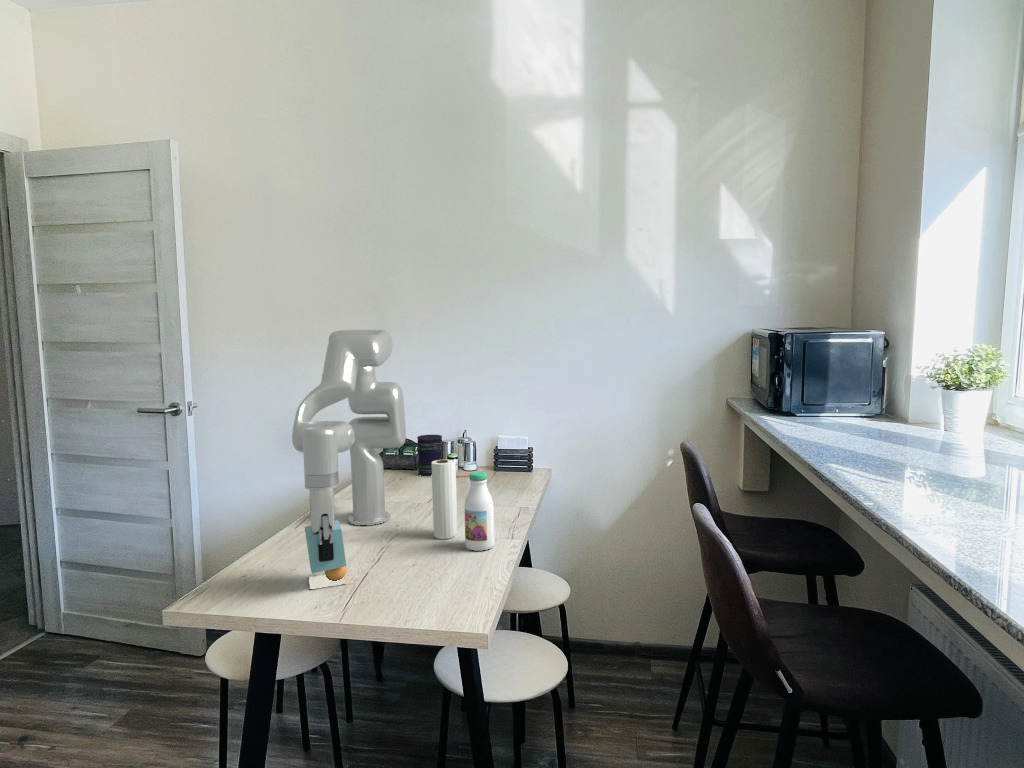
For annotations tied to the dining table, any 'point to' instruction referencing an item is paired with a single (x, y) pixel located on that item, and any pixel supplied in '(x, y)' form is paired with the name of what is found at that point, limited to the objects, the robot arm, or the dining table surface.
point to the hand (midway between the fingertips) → (324, 554)
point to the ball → (336, 573)
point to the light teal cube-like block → (314, 551)
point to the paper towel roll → (444, 498)
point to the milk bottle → (479, 514)
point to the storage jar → (428, 452)
